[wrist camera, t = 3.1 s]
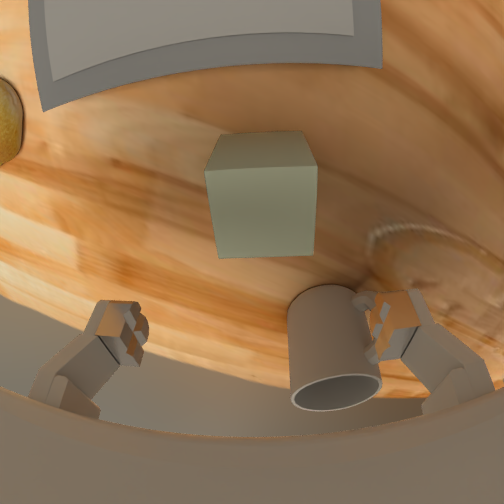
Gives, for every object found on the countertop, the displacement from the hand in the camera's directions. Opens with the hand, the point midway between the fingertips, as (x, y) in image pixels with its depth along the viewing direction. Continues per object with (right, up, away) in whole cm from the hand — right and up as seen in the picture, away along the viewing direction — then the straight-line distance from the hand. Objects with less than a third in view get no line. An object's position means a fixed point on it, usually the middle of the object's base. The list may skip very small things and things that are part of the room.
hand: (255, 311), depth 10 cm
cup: (+7, -2, +17) cm, 19 cm away
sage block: (+1, +7, +9) cm, 12 cm away
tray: (-4, +20, -1) cm, 20 cm away
